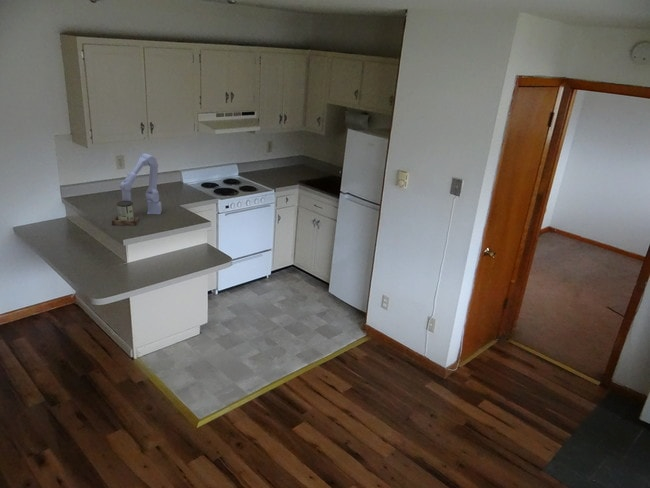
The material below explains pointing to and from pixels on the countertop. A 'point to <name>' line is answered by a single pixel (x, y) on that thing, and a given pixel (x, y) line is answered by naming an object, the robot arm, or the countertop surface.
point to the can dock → (125, 221)
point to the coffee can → (125, 210)
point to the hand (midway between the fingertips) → (128, 216)
